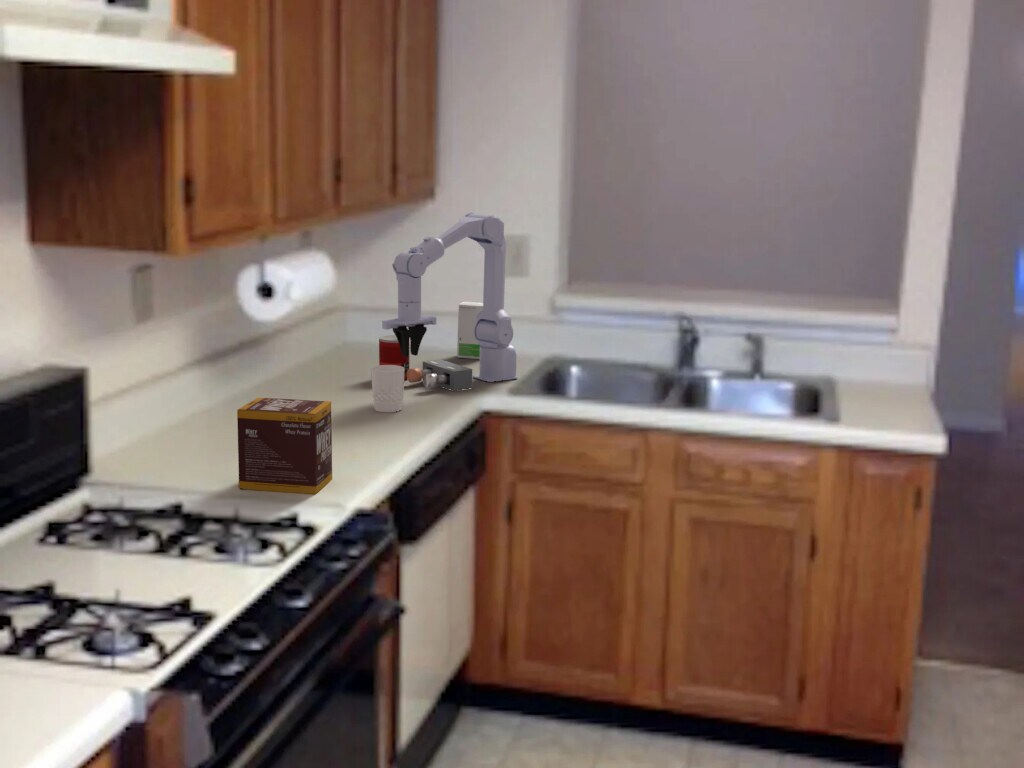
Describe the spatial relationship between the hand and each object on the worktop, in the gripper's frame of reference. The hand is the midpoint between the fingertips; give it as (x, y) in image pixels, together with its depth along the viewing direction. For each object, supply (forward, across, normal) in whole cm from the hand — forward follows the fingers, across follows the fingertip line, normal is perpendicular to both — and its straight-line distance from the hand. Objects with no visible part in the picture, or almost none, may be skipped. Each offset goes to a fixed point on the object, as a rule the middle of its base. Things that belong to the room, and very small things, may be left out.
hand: (409, 355), depth 316 cm
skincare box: (+10, -41, -32) cm, 53 cm away
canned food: (+10, -6, -18) cm, 22 cm away
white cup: (+10, +13, +11) cm, 20 cm away
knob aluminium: (+9, -9, 0) cm, 13 cm away
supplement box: (+10, +60, +53) cm, 81 cm away
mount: (+10, -14, -4) cm, 17 cm away
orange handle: (+9, -9, -8) cm, 15 cm away
